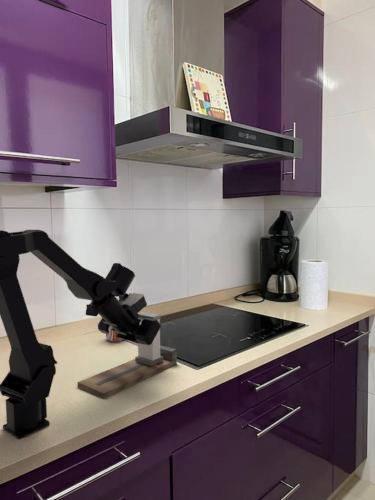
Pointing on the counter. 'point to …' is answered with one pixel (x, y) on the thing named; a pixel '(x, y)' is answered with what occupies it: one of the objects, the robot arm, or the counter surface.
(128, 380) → the slider base
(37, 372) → the robot arm
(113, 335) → the soda can
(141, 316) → the fader tab
